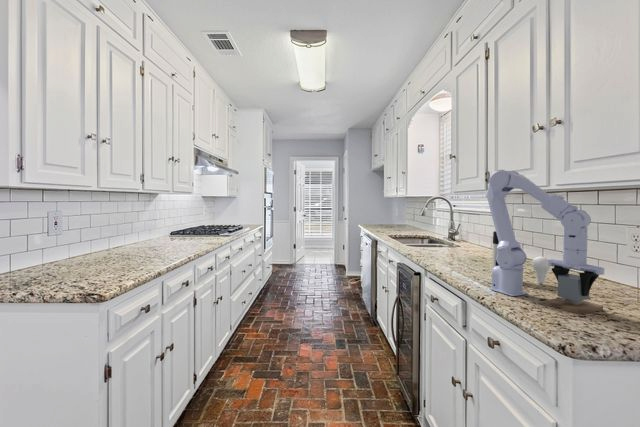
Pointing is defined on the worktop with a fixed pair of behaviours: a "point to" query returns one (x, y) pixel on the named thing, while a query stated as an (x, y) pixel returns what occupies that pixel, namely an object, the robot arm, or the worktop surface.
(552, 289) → the worktop surface
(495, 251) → the spray can
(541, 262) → the lightbulb
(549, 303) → the brown base with post
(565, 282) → the blue-grey block
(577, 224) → the robot arm
